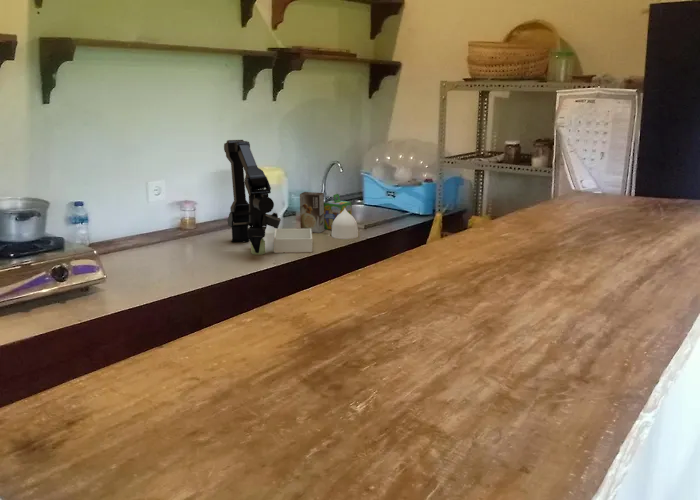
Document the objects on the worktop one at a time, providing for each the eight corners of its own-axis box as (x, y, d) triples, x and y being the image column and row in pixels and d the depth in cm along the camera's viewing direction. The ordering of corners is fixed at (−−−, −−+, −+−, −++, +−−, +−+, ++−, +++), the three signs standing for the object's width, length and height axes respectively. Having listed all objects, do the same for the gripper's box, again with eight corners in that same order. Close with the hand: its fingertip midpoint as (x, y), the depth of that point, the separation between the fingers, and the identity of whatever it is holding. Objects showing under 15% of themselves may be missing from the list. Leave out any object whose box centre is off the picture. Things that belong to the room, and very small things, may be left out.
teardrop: (353, 232, 286) (353, 204, 283) (361, 238, 276) (362, 209, 273) (328, 233, 283) (328, 205, 280) (335, 240, 273) (335, 210, 270)
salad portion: (250, 254, 249) (250, 239, 248) (251, 251, 254) (251, 236, 253) (264, 254, 250) (264, 239, 248) (265, 251, 255) (265, 236, 253)
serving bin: (274, 252, 252) (273, 239, 251) (275, 241, 269) (275, 228, 268) (312, 252, 254) (312, 238, 252) (311, 241, 270) (311, 228, 269)
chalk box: (341, 231, 287) (341, 197, 283) (323, 229, 291) (323, 195, 287) (352, 227, 294) (352, 193, 291) (334, 225, 299) (334, 192, 295)
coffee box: (325, 229, 290) (325, 192, 286) (320, 233, 284) (320, 195, 280) (305, 228, 292) (304, 191, 288) (299, 231, 286) (299, 193, 282)
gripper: (278, 213, 239) (279, 255, 243) (279, 203, 257) (280, 243, 261) (246, 213, 239) (247, 256, 243) (250, 203, 257) (251, 243, 261)
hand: (258, 249), depth 252 cm, fingers open, 9 cm apart
